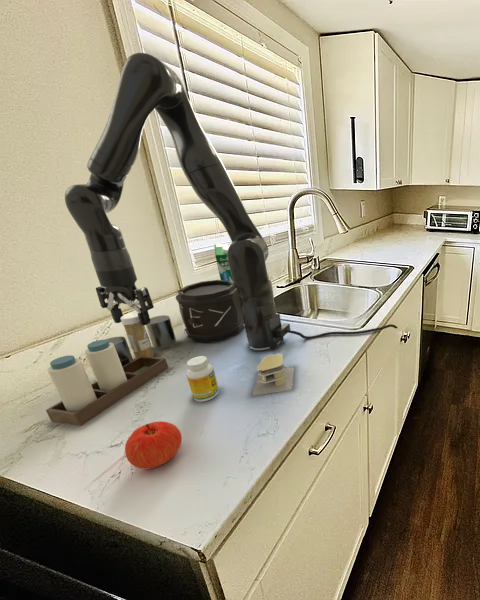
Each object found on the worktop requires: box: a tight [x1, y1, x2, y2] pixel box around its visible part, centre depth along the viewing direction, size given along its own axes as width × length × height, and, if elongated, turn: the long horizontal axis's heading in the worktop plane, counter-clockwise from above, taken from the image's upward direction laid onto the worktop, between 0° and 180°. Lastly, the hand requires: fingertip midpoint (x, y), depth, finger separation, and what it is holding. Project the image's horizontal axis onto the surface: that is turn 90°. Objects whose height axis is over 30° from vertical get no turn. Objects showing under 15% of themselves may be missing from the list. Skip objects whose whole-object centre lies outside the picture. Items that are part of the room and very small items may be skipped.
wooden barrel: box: [175, 279, 245, 344], centre depth 106 cm, size 18×18×16 cm
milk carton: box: [213, 242, 233, 283], centre depth 123 cm, size 9×9×25 cm
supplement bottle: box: [186, 355, 220, 403], centre depth 76 cm, size 5×5×10 cm
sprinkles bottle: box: [120, 312, 155, 360], centre depth 91 cm, size 5×5×13 cm
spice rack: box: [45, 356, 169, 427], centre depth 78 cm, size 8×22×4 cm, turn 170°
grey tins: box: [104, 314, 178, 366], centre depth 92 cm, size 6×20×9 cm, turn 170°
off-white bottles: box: [47, 339, 127, 412], centre depth 73 cm, size 5×12×13 cm, turn 170°
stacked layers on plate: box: [252, 353, 295, 397], centre depth 81 cm, size 10×9×6 cm
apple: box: [124, 420, 183, 470], centre depth 59 cm, size 8×8×8 cm
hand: (132, 323), depth 89 cm, fingers open, 8 cm apart
